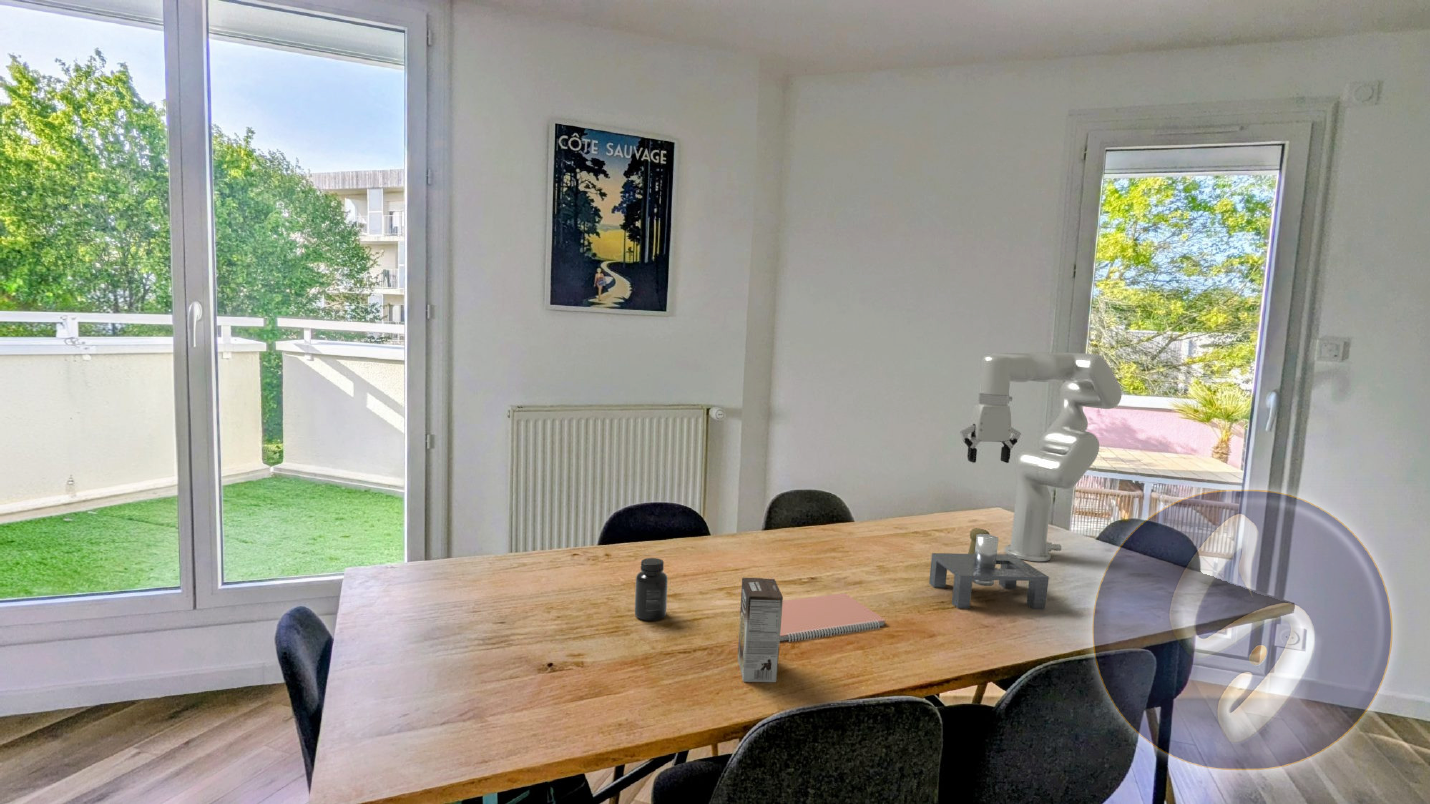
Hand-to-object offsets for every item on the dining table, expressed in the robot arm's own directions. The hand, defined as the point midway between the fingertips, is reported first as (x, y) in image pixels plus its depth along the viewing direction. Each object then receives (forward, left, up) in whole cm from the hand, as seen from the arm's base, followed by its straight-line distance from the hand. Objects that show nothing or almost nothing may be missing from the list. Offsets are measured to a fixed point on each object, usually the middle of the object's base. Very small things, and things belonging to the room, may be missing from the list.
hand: (988, 461), depth 194 cm
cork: (+2, +3, -30) cm, 30 cm away
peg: (+11, +23, -26) cm, 36 cm away
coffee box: (+74, +60, -30) cm, 99 cm away
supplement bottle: (+93, +36, -30) cm, 104 cm away
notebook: (+57, +37, -30) cm, 74 cm away
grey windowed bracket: (+10, +23, -30) cm, 38 cm away
